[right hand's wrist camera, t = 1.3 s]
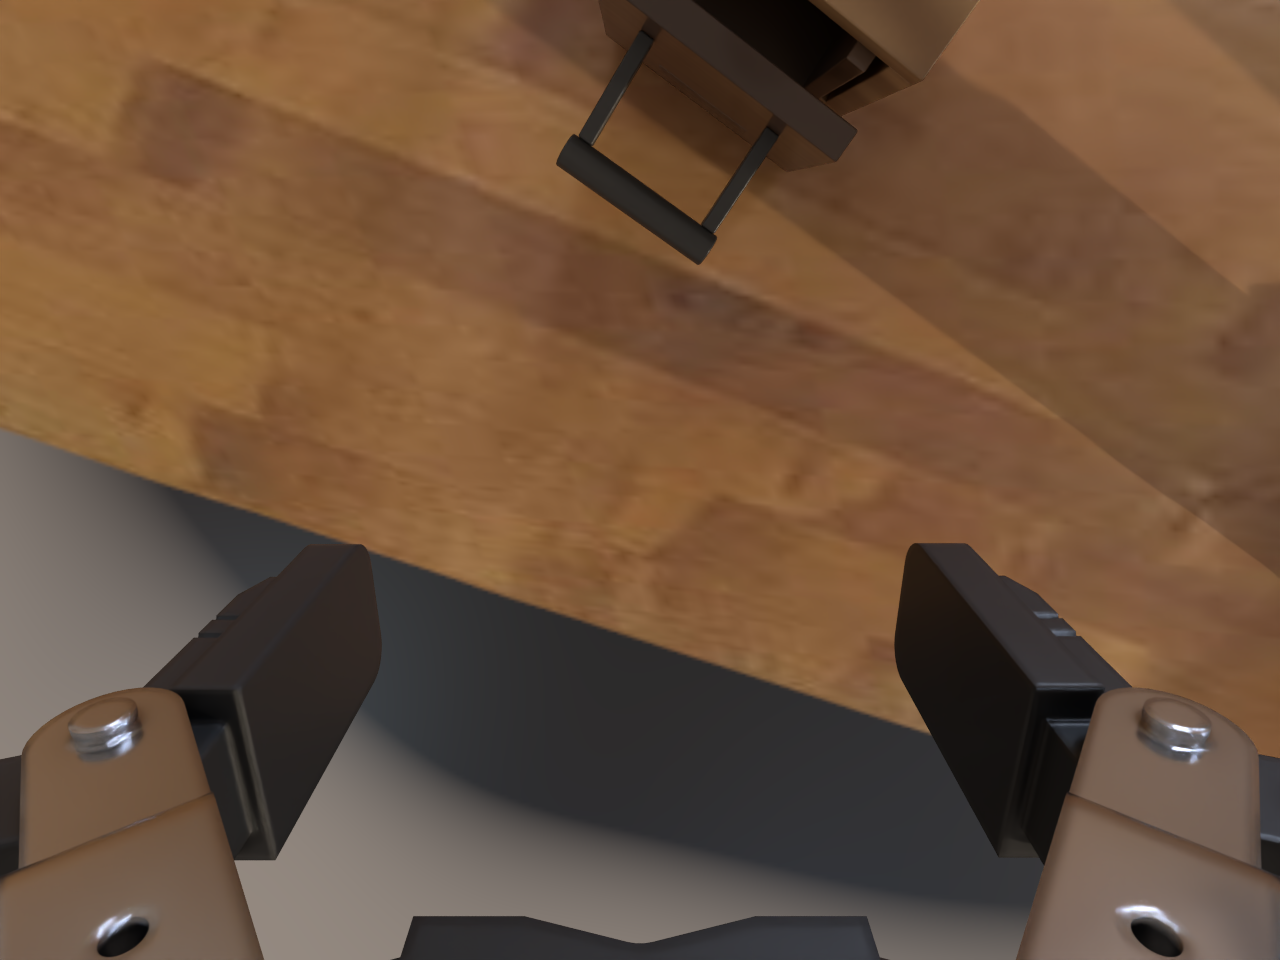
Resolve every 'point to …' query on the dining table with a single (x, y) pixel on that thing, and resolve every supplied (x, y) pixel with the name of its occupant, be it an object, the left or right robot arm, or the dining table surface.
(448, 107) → the dining table surface
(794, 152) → the drawer
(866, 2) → the cabinet
